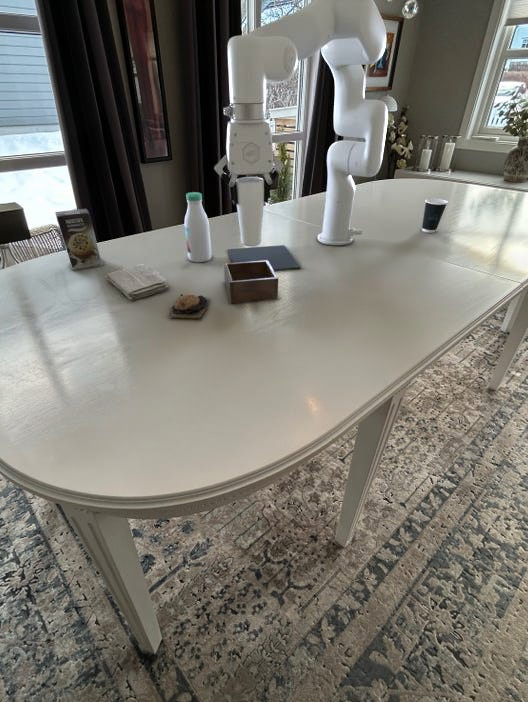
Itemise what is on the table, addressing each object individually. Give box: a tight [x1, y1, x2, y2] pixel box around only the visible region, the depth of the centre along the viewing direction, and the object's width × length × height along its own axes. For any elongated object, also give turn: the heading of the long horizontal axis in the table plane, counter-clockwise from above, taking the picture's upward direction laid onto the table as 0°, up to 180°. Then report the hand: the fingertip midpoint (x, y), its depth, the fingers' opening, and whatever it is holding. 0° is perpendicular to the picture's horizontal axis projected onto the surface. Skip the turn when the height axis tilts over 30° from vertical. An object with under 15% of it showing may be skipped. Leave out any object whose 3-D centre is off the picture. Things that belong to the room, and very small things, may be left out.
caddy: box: [223, 260, 279, 304], centre depth 100 cm, size 13×13×6 cm
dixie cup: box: [421, 198, 449, 234], centre depth 140 cm, size 8×8×11 cm
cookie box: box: [54, 208, 103, 271], centre depth 113 cm, size 9×6×16 cm
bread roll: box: [170, 293, 208, 320], centre depth 93 cm, size 11×8×4 cm
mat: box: [227, 244, 301, 272], centre depth 120 cm, size 20×20×1 cm
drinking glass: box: [235, 176, 265, 247], centre depth 90 cm, size 7×7×15 cm
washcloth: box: [106, 263, 169, 301], centre depth 104 cm, size 12×18×3 cm, turn 39°
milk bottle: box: [184, 191, 212, 263], centre depth 115 cm, size 8×8×20 cm
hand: (250, 201), depth 88 cm, fingers closed on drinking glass, 6 cm apart
